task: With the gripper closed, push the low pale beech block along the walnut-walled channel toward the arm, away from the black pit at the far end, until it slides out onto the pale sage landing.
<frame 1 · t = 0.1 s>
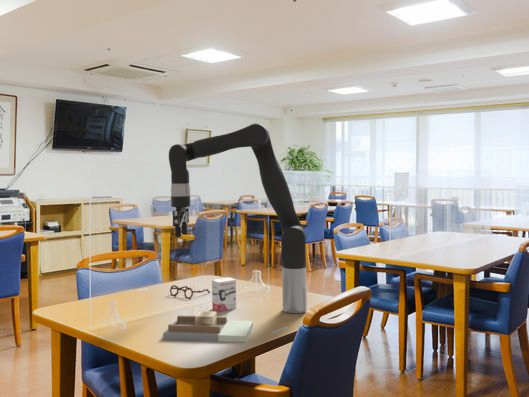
hand: (181, 235, 205), 29 cm above the table, tool pointing down, fingers open, 8 cm apart
beech block: (206, 326, 175), point 2 cm above the table, touching channel deck
channel deck: (209, 332, 175), on the table
glasses: (190, 295, 229), on the table
ink box: (224, 309, 205), on the table
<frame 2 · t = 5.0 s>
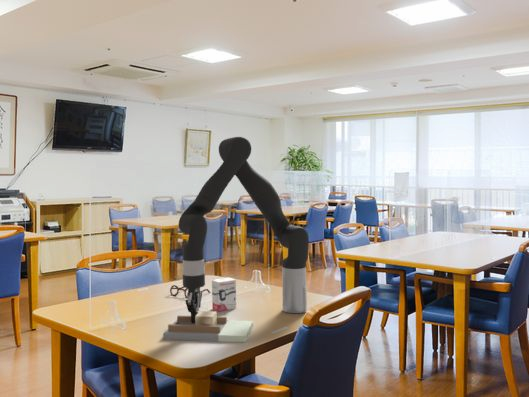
hand: (194, 322, 176), 3 cm above the table, tool pointing down, fingers closed
beech block: (206, 326, 175), point 2 cm above the table, touching gripper
everything else where it was.
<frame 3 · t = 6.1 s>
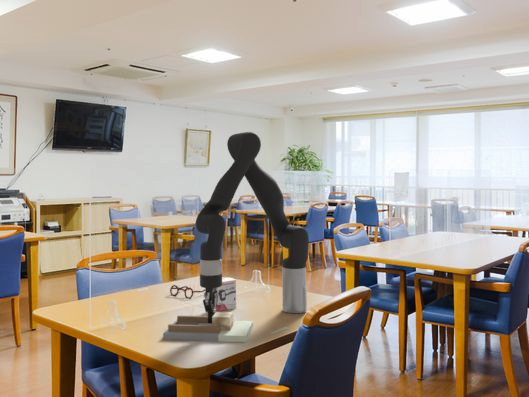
hand: (211, 322, 175), 4 cm above the table, tool pointing down, fingers closed
beech block: (223, 327, 174), point 2 cm above the table, touching gripper
everything else where it was.
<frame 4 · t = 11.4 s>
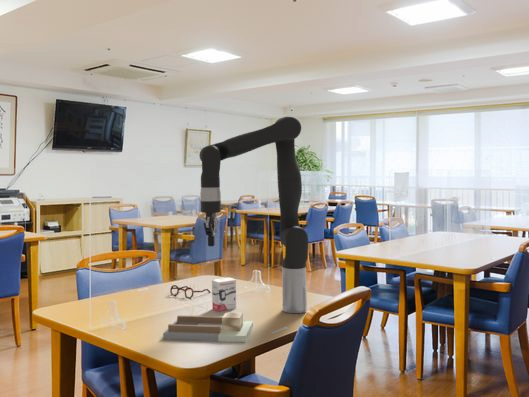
hand: (211, 245, 192), 27 cm above the table, tool pointing down, fingers closed
beech block: (232, 328, 173), point 2 cm above the table, touching channel deck
everything else where it was.
at the end: beech block inside the target area (0.7 cm from its centre), point 2.0 cm above the table; beech block tilted 0°; the gripper is holding nothing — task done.
